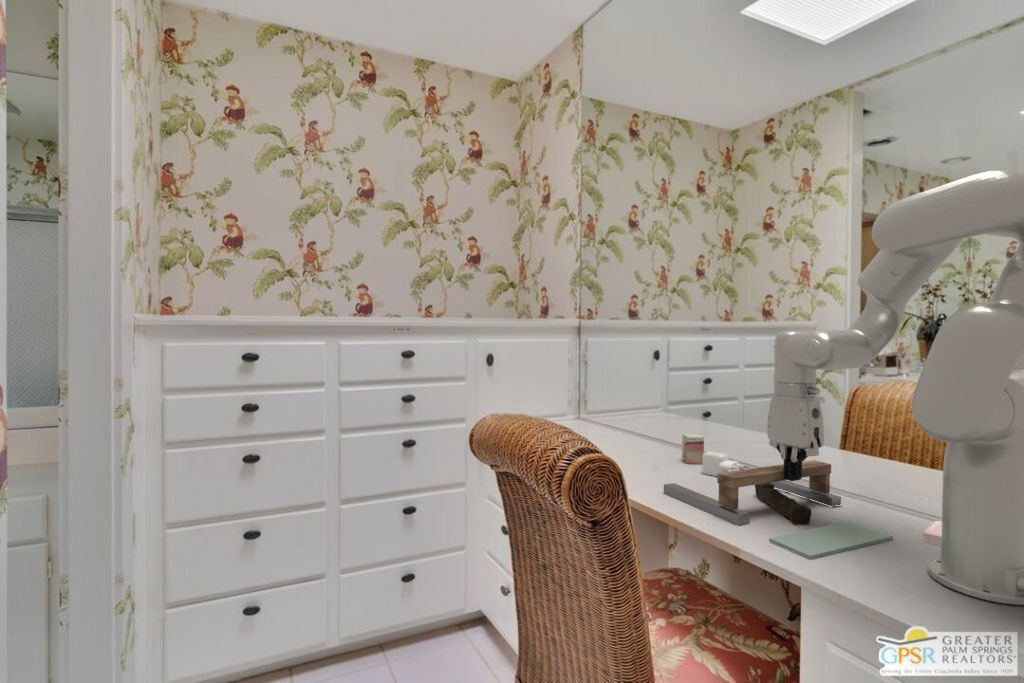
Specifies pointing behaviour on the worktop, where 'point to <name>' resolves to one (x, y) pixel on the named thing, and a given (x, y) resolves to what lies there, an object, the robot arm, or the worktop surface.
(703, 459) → the power adapter
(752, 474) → the wooden bridge block
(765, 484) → the dark brown rough bar
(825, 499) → the rails
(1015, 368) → the robot arm
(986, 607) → the worktop surface
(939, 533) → the soap bar
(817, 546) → the mat
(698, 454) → the small box
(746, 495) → the worktop surface
